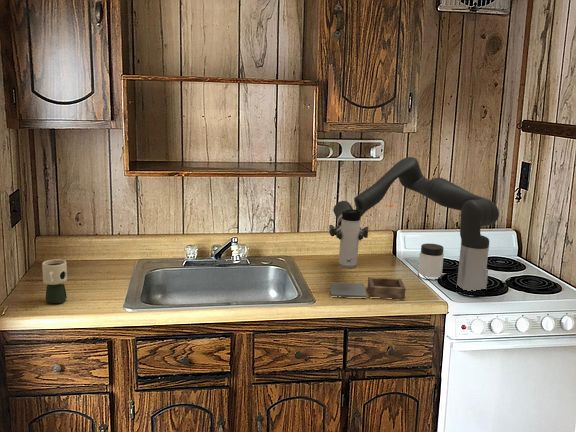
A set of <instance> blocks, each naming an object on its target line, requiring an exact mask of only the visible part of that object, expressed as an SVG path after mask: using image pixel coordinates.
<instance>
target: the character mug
mask: <svg viewBox="0 0 576 432" xmlns="http://www.w3.org/2000/svg"><path fill="white" fill-rule="evenodd" d="M41 264H42V265H41V268H42V282H43V284H45V285H46V289H45V302H46V303H50V304H51V303H53V304H61V303H65V302H67V299H68V296H67V290H66V287H65V284H64V283H66V282H67V281H68V265H67V260H64V259H60V258H56V259H48V260H44V261H43V262H42V263H41Z"/></svg>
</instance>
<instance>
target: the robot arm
mask: <svg viewBox="0 0 576 432" xmlns="http://www.w3.org/2000/svg"><path fill="white" fill-rule="evenodd" d="M397 179H398V180H399V182H400V184H401V186H402V187H404V188H406V189H408V190H410V191H412V192H413V191H414V192H416V193H418V194H420V195H422V196H424V197H426V198H428V199H429V200H431V201H433V202H434V203H436V204H437V205H439V206H441V207H445V208H448V209H451V210H457V211H460V222H459V235H460V248H459V249H460V251H459V260H458V261H459V263H458V271H457V280H456V281H457V282H456V286H457V285H458V286H459V287H460V288H462V289H463V290H467V291H471V290H473V291H476V290H481V289H486V290H487V287H488V286H487V285H488V284H487V283H488V276H489V275H488V274H489V269H488V267H487V266H488V257H489V250H490V238H489V237H487V236H485V235H482V234H481V227H487V226H492V225H493V224H495V223H496V222H497V221H498V219H499V216H500V210H499V208H498V206H497V205H496V204H495V202H493V201H492V200H491V199H489V198H485V197H483V196H480V195H477V194H474V193H472V192H471V191H468V190H467V189H465V188H463V187H461V186H459V185H456V184H455V183H454V182H451V181H450V180H448V179H446V178H443V177H434V178H432V179H429V178H426V177H425V176H424V175H423V172H422V169H421V167H420V163H419V161H418V159H417V158H416V157H413V156H408V157H405V158H402V159H400V160H399V161H397V163H395V164H394V165H393V166H392V167H391V168H389V169H388V170H387V171H386V172H385V173H384V174H383V175H382V176H381V177H380V178H379V179H378V180H377V181H376V182H375V183H374V184H372V185H371V186H369V187H368V188H366V189H365V190H363V191H362V192H360V193H359V194H358V195H356V196H355V197H354V198H353V201H354V205H355V210H361V211H362V213H361V215H360V219H361V217H363V216H364V214H365V213H366V212H368V211H369V210H371V209H372V208H373V207H375V206H377V204H379V203H380V202H381V201H382V200H383V198H384V197H385V196H386V195H387V192H388V190H389V189H390V188H391V186H392V184H393V183H395V181H396V180H397ZM352 209H354V208H353V207H352V204H351V203H350V202H349V201H348V200H341V201H338V202H337V203H336V204H335V205H334V207H333V209H332V212H333V214H334V216H335V218H336V227H335V226H334V225H333V224H329V226H328V233H329V235H330V237H336V239H338V240H341V221H342V211H346V210H352ZM368 237H369V226H365V227H363V228H361V227H360V231H359V241H362V240H364V238H365V239H367V238H368Z"/></svg>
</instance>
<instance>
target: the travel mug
mask: <svg viewBox="0 0 576 432" xmlns="http://www.w3.org/2000/svg"><path fill="white" fill-rule="evenodd" d="M361 213H362V211H361V210H356V208H353V209H352V210H346V211H342V221H341V240H340V239H339V240H340V241H339V250H338V251H339V253H338V266H339V267H340V268H343V269H347V270H349V269H350V270H351V269H356V268H357V267H358V256H359V255H358V254H359V243H360V242H359V241H360V240H359V231H360V228H361V218H360V215H361Z"/></svg>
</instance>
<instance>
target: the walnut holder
mask: <svg viewBox="0 0 576 432" xmlns="http://www.w3.org/2000/svg"><path fill="white" fill-rule="evenodd" d="M368 290H369V292H368V294H370V296H369V298H370V297H380V298H392V299H405V298H406V287H405V285H404V282H403V280H402V278H396V277H395V278H393V277H391V278H390V277H374V276H371V277H370V276H368V277H367V291H368ZM405 300H406V299H405Z"/></svg>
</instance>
